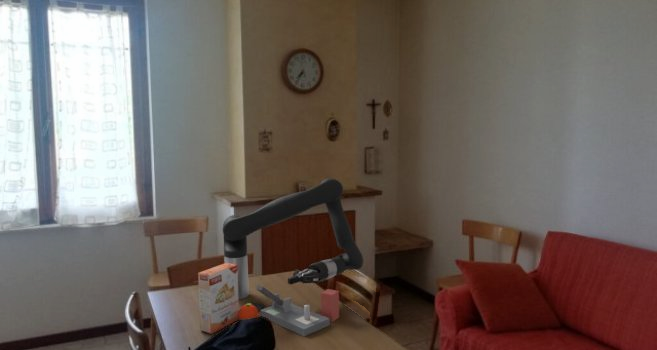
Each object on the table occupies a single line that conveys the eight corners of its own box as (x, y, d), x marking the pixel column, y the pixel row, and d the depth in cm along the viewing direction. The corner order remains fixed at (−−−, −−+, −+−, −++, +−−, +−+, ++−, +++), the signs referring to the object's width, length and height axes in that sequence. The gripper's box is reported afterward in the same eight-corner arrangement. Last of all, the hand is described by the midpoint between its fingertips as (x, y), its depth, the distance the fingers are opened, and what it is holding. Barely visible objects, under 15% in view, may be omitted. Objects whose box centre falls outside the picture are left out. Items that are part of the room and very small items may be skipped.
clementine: (241, 318, 180) (240, 299, 179) (260, 318, 179) (259, 299, 179) (237, 327, 172) (236, 308, 171) (256, 327, 171) (256, 308, 171)
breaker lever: (278, 305, 183) (254, 288, 174) (280, 301, 183) (257, 284, 175) (285, 308, 180) (261, 291, 171) (288, 304, 180) (264, 286, 172)
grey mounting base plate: (260, 316, 181) (259, 296, 180) (285, 307, 189) (285, 288, 188) (304, 336, 164) (303, 314, 163) (329, 325, 172) (329, 304, 171)
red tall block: (321, 319, 177) (320, 292, 176) (328, 315, 181) (327, 288, 180) (332, 322, 175) (331, 295, 174) (339, 317, 179) (338, 291, 177)
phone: (229, 317, 179) (248, 302, 193) (229, 320, 179) (248, 304, 194) (248, 320, 177) (265, 304, 191) (248, 322, 177) (265, 306, 191)
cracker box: (212, 335, 166) (209, 275, 164) (199, 331, 169) (196, 272, 167) (240, 320, 178) (238, 264, 176) (228, 316, 181) (225, 261, 179)
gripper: (311, 258, 199) (277, 268, 187) (334, 264, 189) (300, 275, 177) (311, 276, 200) (278, 287, 188) (334, 283, 190) (301, 295, 178)
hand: (289, 281), depth 183 cm, fingers closed
